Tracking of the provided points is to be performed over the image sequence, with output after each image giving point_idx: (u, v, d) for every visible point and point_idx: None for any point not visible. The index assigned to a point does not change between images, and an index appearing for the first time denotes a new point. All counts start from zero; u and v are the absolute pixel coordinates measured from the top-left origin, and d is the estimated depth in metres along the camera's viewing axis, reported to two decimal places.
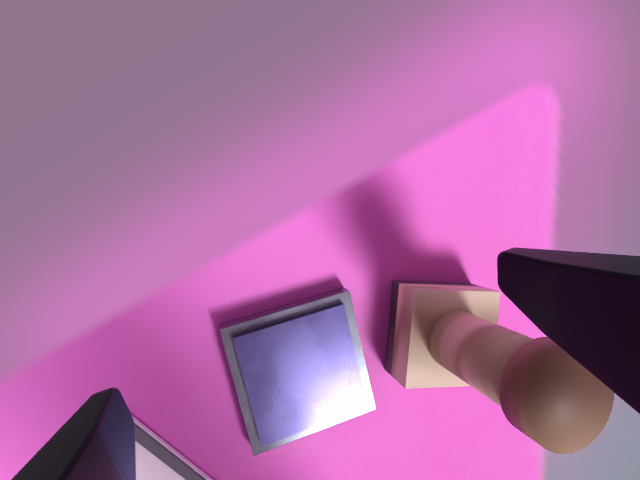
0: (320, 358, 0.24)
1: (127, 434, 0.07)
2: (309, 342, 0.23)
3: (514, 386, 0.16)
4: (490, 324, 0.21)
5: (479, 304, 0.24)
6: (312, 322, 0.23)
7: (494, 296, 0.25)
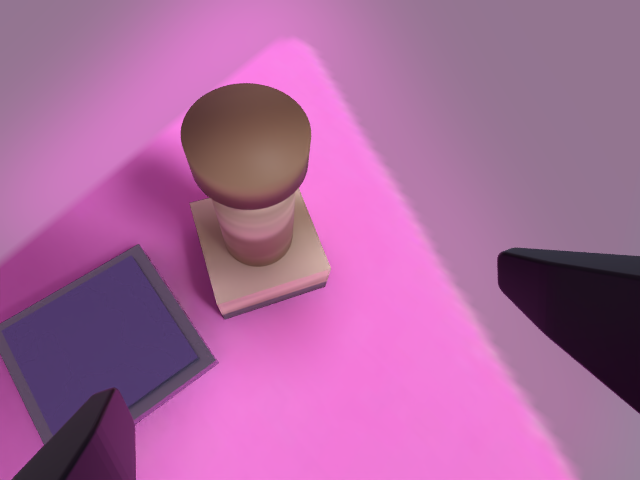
0: (117, 319, 0.20)
1: (127, 434, 0.07)
2: (99, 306, 0.20)
3: None
4: None
5: None
6: (97, 284, 0.21)
7: None
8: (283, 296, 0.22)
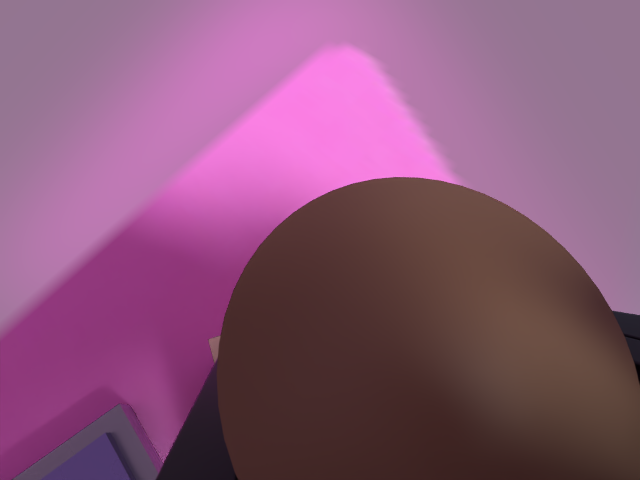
0: None
1: None
2: None
3: None
4: None
5: None
6: None
7: None
8: None
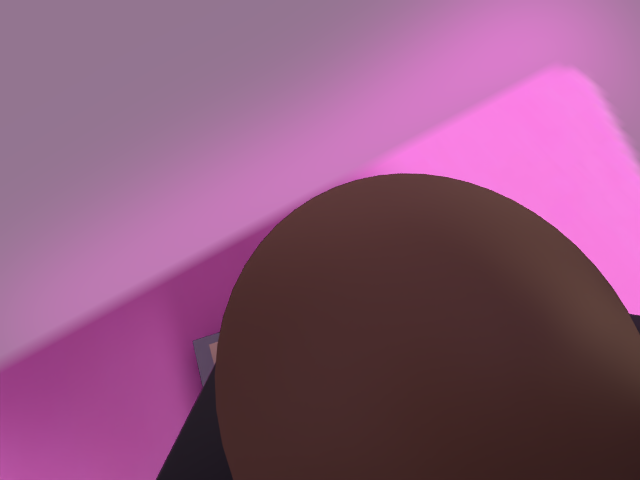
0: None
1: None
2: None
3: None
4: None
5: None
6: None
7: None
8: None
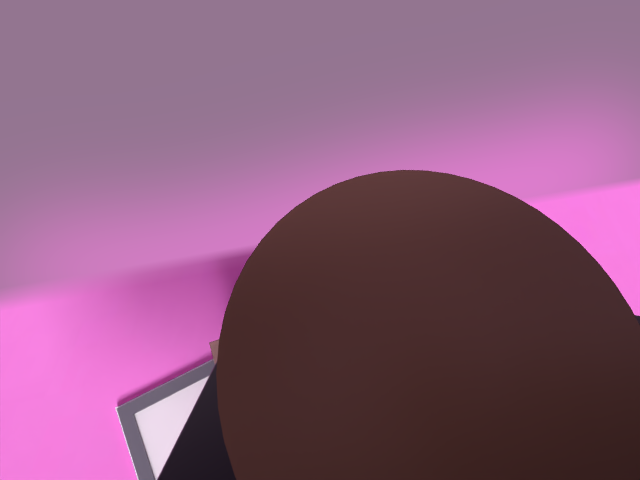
0: None
1: None
2: None
3: None
4: None
5: None
6: None
7: None
8: None
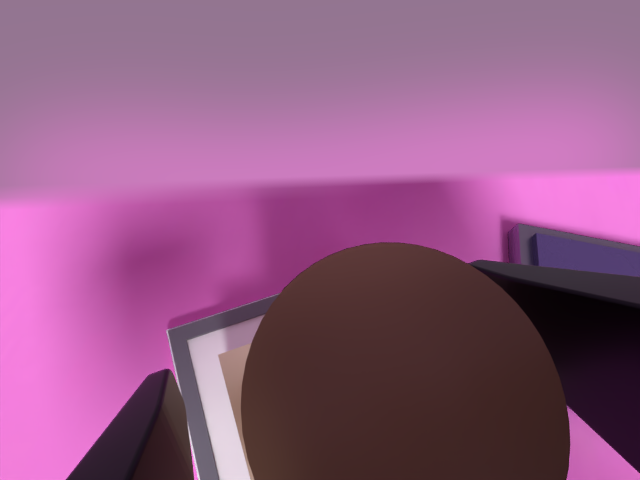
0: None
1: (181, 414, 0.08)
2: None
3: None
4: None
5: None
6: (633, 260, 0.18)
7: None
8: None
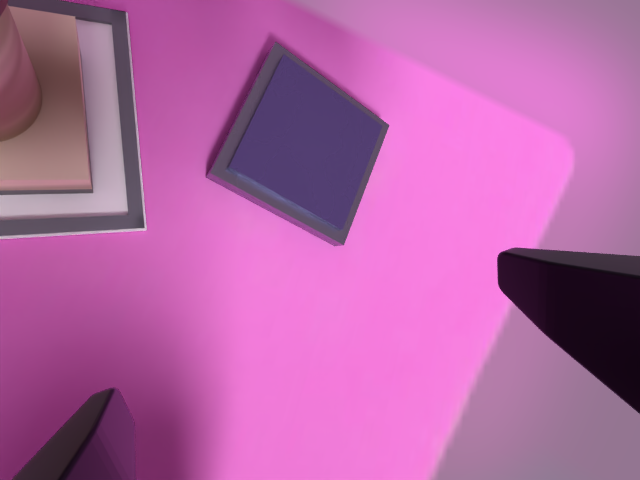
0: (336, 146, 0.21)
1: (127, 434, 0.07)
2: (337, 124, 0.22)
3: None
4: None
5: (29, 31, 0.14)
6: (350, 111, 0.22)
7: (62, 22, 0.14)
8: (14, 191, 0.15)
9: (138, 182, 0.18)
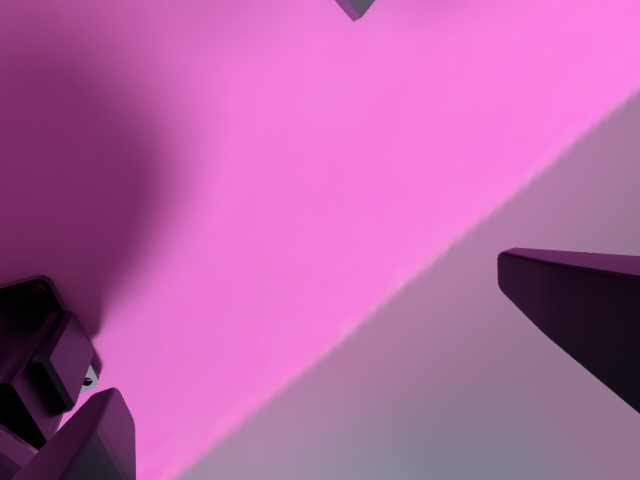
0: None
1: (127, 434, 0.07)
2: None
3: None
4: None
5: None
6: None
7: None
8: None
9: None
